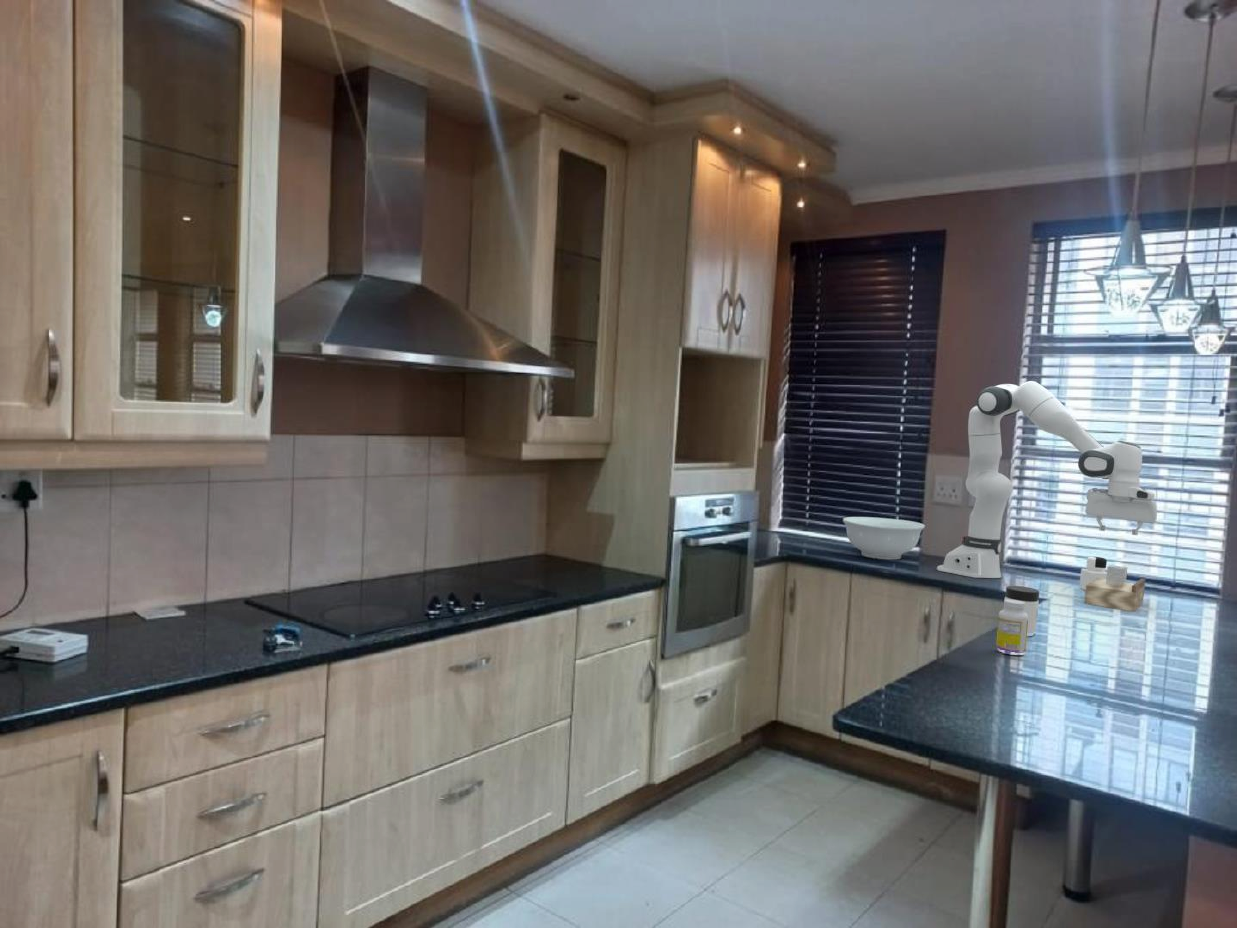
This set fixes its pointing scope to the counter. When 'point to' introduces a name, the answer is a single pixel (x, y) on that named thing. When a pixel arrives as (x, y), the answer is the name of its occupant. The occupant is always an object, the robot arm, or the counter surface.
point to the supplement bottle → (1012, 627)
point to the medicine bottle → (1093, 571)
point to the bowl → (882, 536)
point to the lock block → (1116, 576)
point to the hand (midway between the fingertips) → (1118, 532)
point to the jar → (1026, 603)
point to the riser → (1115, 594)
